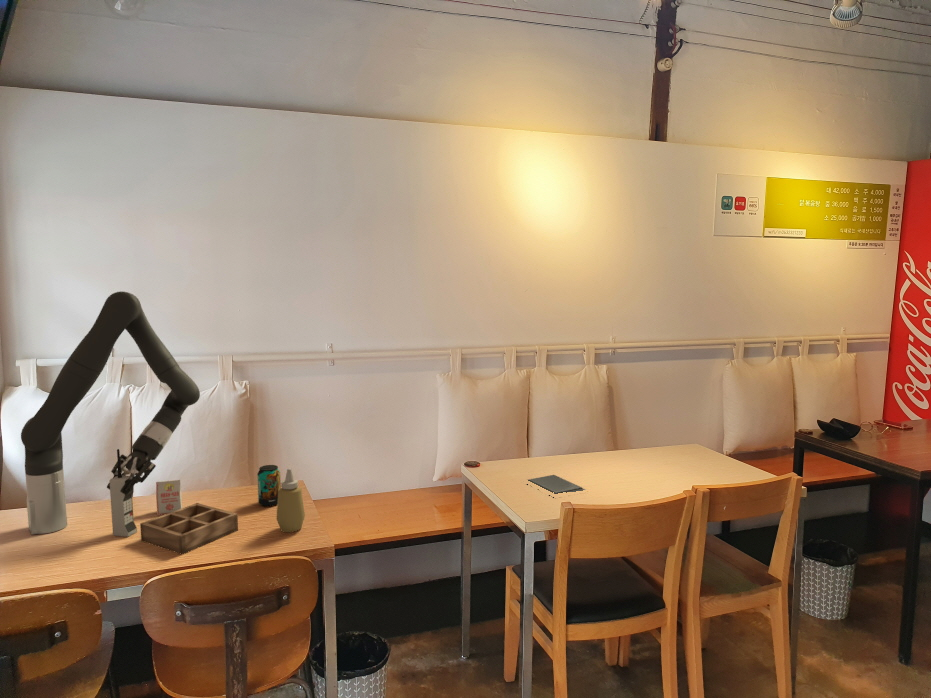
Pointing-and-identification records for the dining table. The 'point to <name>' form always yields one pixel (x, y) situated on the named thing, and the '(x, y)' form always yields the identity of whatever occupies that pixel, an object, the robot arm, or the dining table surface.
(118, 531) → the vintage mobile phone
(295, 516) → the squeeze bottle
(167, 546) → the wooden compartment tray
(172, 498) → the tea bag
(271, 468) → the beverage can
